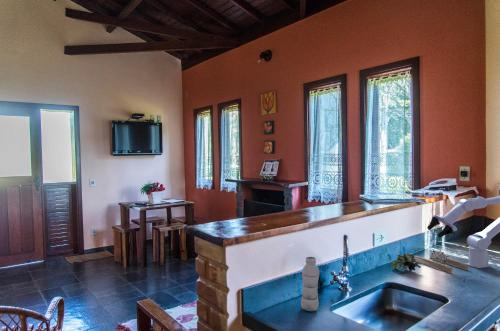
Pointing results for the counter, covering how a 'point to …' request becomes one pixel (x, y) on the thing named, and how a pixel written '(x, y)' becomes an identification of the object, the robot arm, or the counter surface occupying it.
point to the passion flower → (405, 262)
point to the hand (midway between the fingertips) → (433, 232)
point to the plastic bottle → (310, 285)
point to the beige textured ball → (439, 257)
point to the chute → (442, 266)
